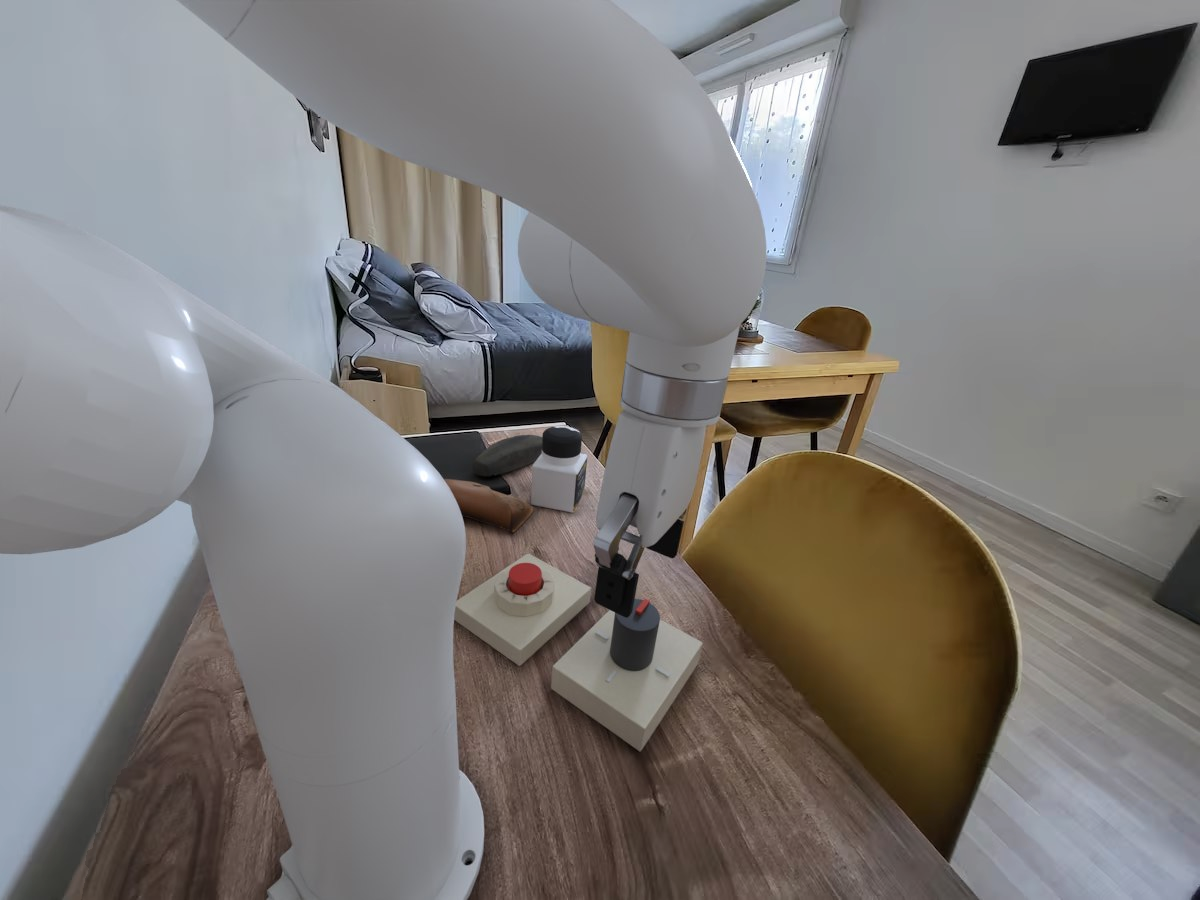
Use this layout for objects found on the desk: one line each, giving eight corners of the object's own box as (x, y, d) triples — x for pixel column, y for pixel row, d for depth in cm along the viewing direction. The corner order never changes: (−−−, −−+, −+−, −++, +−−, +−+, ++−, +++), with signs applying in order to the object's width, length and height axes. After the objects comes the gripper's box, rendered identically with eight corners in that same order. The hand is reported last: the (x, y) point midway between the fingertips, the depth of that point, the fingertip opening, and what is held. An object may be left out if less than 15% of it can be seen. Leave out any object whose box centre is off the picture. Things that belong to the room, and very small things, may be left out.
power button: (525, 601, 52) (526, 588, 51) (501, 586, 53) (501, 573, 53) (547, 584, 54) (548, 571, 54) (524, 570, 56) (524, 558, 55)
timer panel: (640, 752, 41) (645, 727, 40) (550, 688, 46) (552, 664, 45) (698, 663, 51) (703, 641, 49) (618, 618, 55) (621, 596, 54)
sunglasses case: (538, 505, 75) (529, 482, 70) (519, 545, 71) (508, 524, 66) (438, 479, 80) (423, 455, 74) (416, 515, 76) (398, 493, 71)
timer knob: (641, 678, 45) (649, 635, 42) (602, 657, 46) (607, 615, 44) (659, 649, 48) (667, 607, 46) (622, 630, 50) (628, 590, 48)
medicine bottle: (574, 513, 75) (579, 443, 70) (529, 505, 76) (532, 435, 71) (584, 492, 81) (590, 426, 76) (543, 484, 82) (547, 419, 77)
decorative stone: (525, 443, 97) (526, 424, 95) (552, 452, 94) (553, 433, 93) (465, 474, 83) (464, 452, 81) (494, 486, 80) (494, 463, 79)
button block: (519, 666, 48) (520, 636, 47) (452, 619, 53) (451, 590, 51) (590, 602, 57) (593, 575, 56) (527, 566, 62) (528, 541, 61)
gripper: (669, 364, 45) (641, 522, 51) (566, 403, 31) (546, 615, 37) (749, 382, 42) (709, 548, 48) (677, 436, 27) (633, 661, 34)
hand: (638, 577), depth 43 cm, fingers open, 9 cm apart
